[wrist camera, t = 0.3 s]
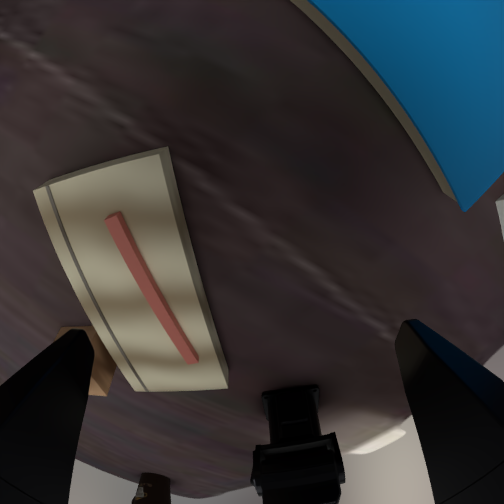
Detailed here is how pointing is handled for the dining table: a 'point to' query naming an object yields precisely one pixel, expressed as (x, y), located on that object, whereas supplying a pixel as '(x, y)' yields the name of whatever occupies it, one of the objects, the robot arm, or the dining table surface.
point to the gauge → (97, 362)
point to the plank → (119, 276)
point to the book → (432, 78)
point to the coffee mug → (153, 490)
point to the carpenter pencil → (149, 285)
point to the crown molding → (501, 211)
